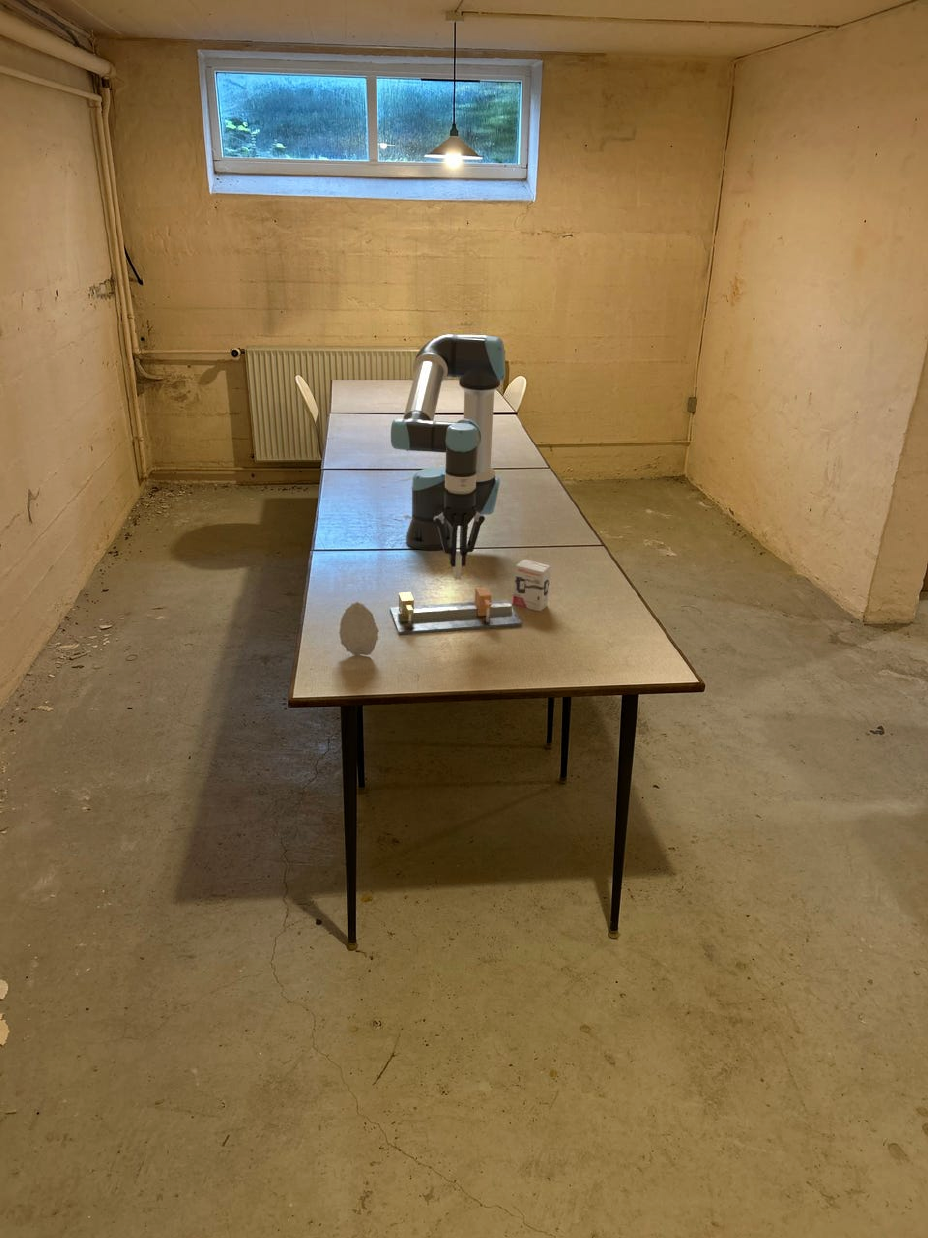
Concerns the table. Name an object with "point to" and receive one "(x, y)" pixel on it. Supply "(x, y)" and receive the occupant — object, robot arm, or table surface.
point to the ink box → (531, 585)
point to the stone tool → (358, 630)
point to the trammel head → (483, 602)
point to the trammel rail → (441, 610)
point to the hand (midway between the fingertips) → (457, 577)
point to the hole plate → (455, 621)
